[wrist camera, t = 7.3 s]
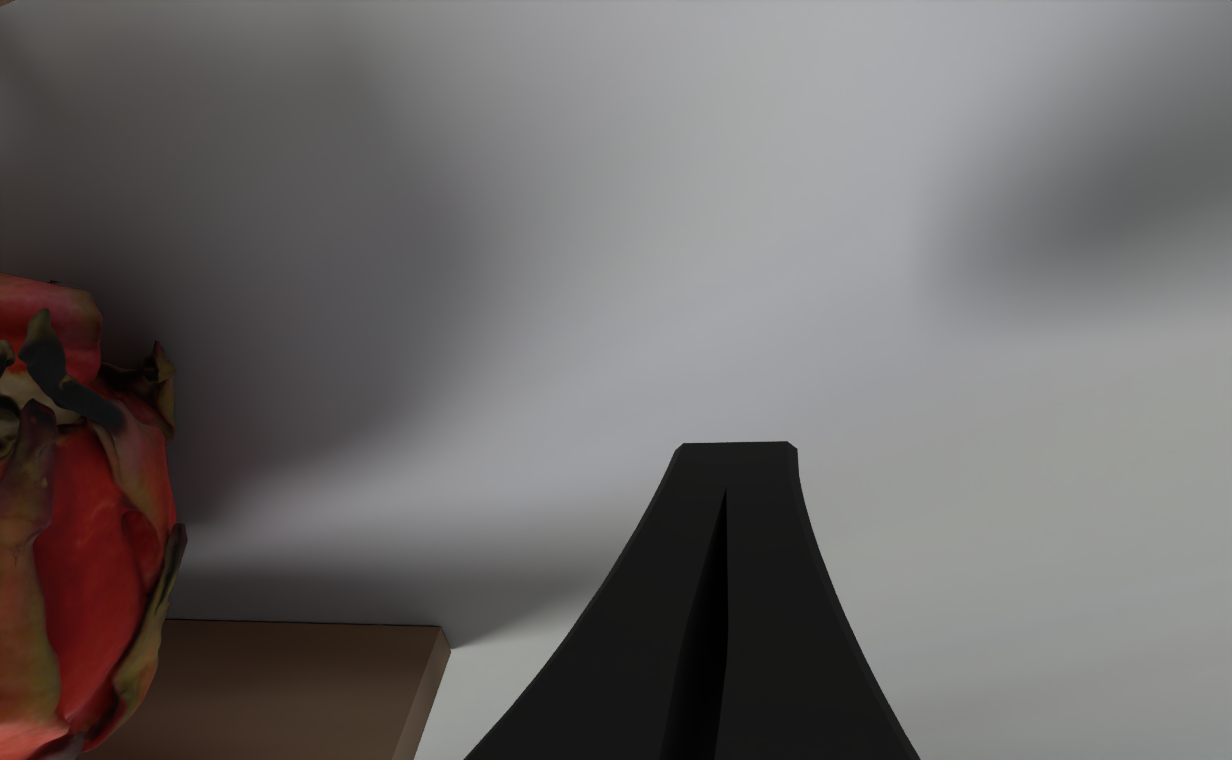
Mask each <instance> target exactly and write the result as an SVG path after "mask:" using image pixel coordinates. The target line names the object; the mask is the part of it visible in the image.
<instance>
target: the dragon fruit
mask: <svg viewBox="0 0 1232 760" xmlns="http://www.w3.org/2000/svg"><path fill="white" fill-rule="evenodd" d="M37 277H38V276H37ZM50 281H51V280H50ZM49 283H50V284H49ZM55 283H59V282H57V281H51V282H48V283H44V282H40V281H36V280H32V279H28V278H24V277H19V276H14V275H10V274H6V273H2V272H0V760H75V759H76V757H77V756H78V754H79V753H83V752H87V751H90V750H93V749H95V748H96V747H97V746H99V745H100V744H102V743H103V742H104V741H105V740H106V739H107V738H109V737H110V736H111V735H112V734H113V733H114V732H115V731H116V730H117V729H118V728H119V727H120V726H121V725H122V724H124V723H125V722H126V721H127V720H128V719H129V718H130V717H131V716H132V715H133V714H134V712H135V711H136V709H137V708H138V706H139V705H140V704H141V703H142V701H143V699H144V698H145V696H146V693H147V691H148V689H149V687H150V684H151V682H152V680H153V678H154V675H155V672H156V670H157V666H158V649H159V647H160V644H161V627H162V624H163V622H164V619H165V617H166V614H167V612H168V608H169V606H170V605H171V603H170V602H169V601H168V600H167V598H168V596H169V594H170V591H171V590H172V588H173V586H174V584H175V582H176V578H177V574H178V570H179V567H180V564H181V560H182V557H183V553H184V550H185V547H186V544H187V534H186V526H185V525H184V524H182V523H176V519H177V512H176V507H175V503H174V498H173V494H172V489H171V485H170V480H169V474H168V466H167V457H166V446H165V444H168V443H170V442H171V441H172V439H173V437H174V434H175V431H176V424H175V421H174V415H173V407H174V404H175V395H174V389H173V383H172V379H173V376H174V374H175V372H176V369H175V367H174V366H173V365H172V364H171V363H170V361H169V360H168V359H167V357H166V356H165V353H164V350H163V348H162V346H161V345H160V343H159V341H158V340H156V341H155V344H154V349H153V353H152V354H151V355H150V356H147V357H145V358H144V363H143V365H142V366H141V367H140V368H138V369H135V370H131V369H125V368H120V367H117V366H114V365H112V364H108V363H106V362H103V361H101V356H100V347H99V341H100V339H101V332H102V321H103V320H102V315H101V314H100V312H99V310H98V309H97V306H96V303H95V301H94V299H93V297H92V295H91V294H90V293H89V292H88V291H85V290H79V289H74V288H68V287H63V286H58V285H53V284H55Z"/></svg>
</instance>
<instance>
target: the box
mask: <svg viewBox="0 0 1232 760" xmlns="http://www.w3.org/2000/svg"><path fill="white" fill-rule="evenodd" d="M12 1H14V0H0V7H1V6H3V5H5V4H8V3H10V2H12ZM450 654H451V650H450V648H449V645H448V643H447V641H446V638H445V636H444V634H443V631H442V629H441V627H418V626H380V625H341V624H303V623H265V622H227V621H189V620H164V622H163V624H162V627H161V644H160V647H159V649H158V666H157V670H156V672H155V675H154V678H153V680H152V682H151V684H150V687H149V689H148V691H147V693H146V696H145V698H144V699H143V701H142V703H141V704H140V705H139V706H138V708H137V709H136V711H135V712H134V714H133V715H132V716H131V717H130V718H129V719H128V720H127V721H126V722H125V723H124V724H122V725H121V726H120V727H119V728H118V729H117V730H116V731H115V732H114V733H113V734H112V735H111V736H110V737H109V738H107V739H106V740H105V741H104V742H103V743H102V744H100V745H99V746H97V747H96V748H95V749H93V750H90V751H87V752H83V753H79V754H78V756H77V757H76V759H75V760H414V757H415V754H416V751H417V748H418V745H419V742H420V740H421V737H422V734H423V731H424V728H425V725H426V722H427V720H428V717H429V714H430V711H431V708H432V705H433V702H434V700H435V697H436V694H437V691H438V688H439V685H440V682H441V679H442V677H443V674H444V671H445V668H446V665H447V662H448V659H449V657H450Z"/></svg>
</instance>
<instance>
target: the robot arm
mask: <svg viewBox="0 0 1232 760" xmlns="http://www.w3.org/2000/svg"><path fill="white" fill-rule="evenodd" d="M464 760H920V758H919V756H918V754H917V753H916V751H915V749H914V748H913V746H912V744H911V742H910V741H909V739H908V737H907V736H906V734H905V732H904V731H903V729H902V727H901V725H900V723H899V721H898V720H897V718H896V716H895V714H894V712H893V711H892V709H891V707H890V705H889V703H888V701H887V700H886V698H885V696H884V694H883V692H882V690H881V688H880V686H879V684H878V682H877V681H876V679H875V677H874V675H873V673H872V671H871V669H870V667H869V665H868V663H867V661H866V659H865V657H864V655H863V653H862V650H861V648H860V646H859V644H858V642H857V640H856V637H855V635H854V633H853V631H852V629H851V627H850V624H849V622H848V620H847V618H846V616H845V613H844V611H843V609H842V606H841V604H840V602H839V599H838V597H837V595H836V592H835V590H834V587H833V584H832V582H831V579H830V577H829V574H828V571H827V569H826V566H825V564H824V561H823V558H822V556H821V553H820V550H819V548H818V545H817V542H816V539H815V536H814V533H813V530H812V526H811V523H810V519H809V516H808V512H807V509H806V505H805V502H804V497H803V493H802V489H801V483H800V478H799V467H798V452H797V448H795V447H794V446H793V445H791V444H790V443H789V442H787V441H779V442H726V443H683V444H682V445H681V446H680V447H679V448H678V449H676V450H675V452H674V454H673V457H672V459H671V461H670V464H669V466H668V468H667V470H666V472H665V474H664V476H663V478H662V480H661V483H660V485H659V487H658V489H657V490H656V492H655V494H654V496H653V498H652V500H651V502H650V504H649V506H648V508H647V509H646V511H645V513H644V515H643V517H642V518H641V520H640V522H639V524H638V526H637V528H636V529H635V531H634V533H633V534H632V536H631V538H630V539H629V541H628V543H627V544H626V546H625V548H624V549H623V551H622V553H621V554H620V556H619V558H618V559H617V561H616V563H615V564H614V566H613V567H612V569H611V571H610V572H609V574H608V576H607V577H606V579H605V580H604V582H603V583H602V585H601V587H600V588H599V590H598V591H597V592H596V594H595V595H594V597H593V598H592V600H591V601H590V603H589V604H588V605H587V607H586V608H585V610H584V611H583V613H582V614H581V616H580V617H579V619H578V620H577V621H576V623H575V624H574V626H573V627H572V629H571V630H570V632H569V633H568V634H567V636H566V637H565V639H564V640H563V641H562V643H561V644H560V645H559V647H558V648H557V649H556V651H555V652H554V653H553V655H552V656H551V657H550V659H549V660H548V661H547V663H546V664H545V665H544V667H543V668H542V669H541V670H540V672H539V673H538V674H537V675H536V677H535V678H534V679H533V680H532V682H531V683H530V684H529V685H528V687H527V688H526V689H525V690H524V691H523V693H522V694H521V695H520V696H519V697H518V699H517V700H516V701H515V702H514V704H513V705H512V706H511V707H510V708H509V709H508V711H507V712H506V713H505V714H504V715H503V716H502V717H501V719H500V720H499V721H498V722H497V723H496V724H495V725H494V726H493V727H492V729H491V730H490V731H489V732H488V733H487V734H486V735H485V736H484V737H483V739H482V740H481V741H480V742H479V743H478V744H477V745H476V746H475V748H474V749H473V750H472V751H471V752H470V753H469V754H468V755H467V756H466V757H465V758H464Z"/></svg>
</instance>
